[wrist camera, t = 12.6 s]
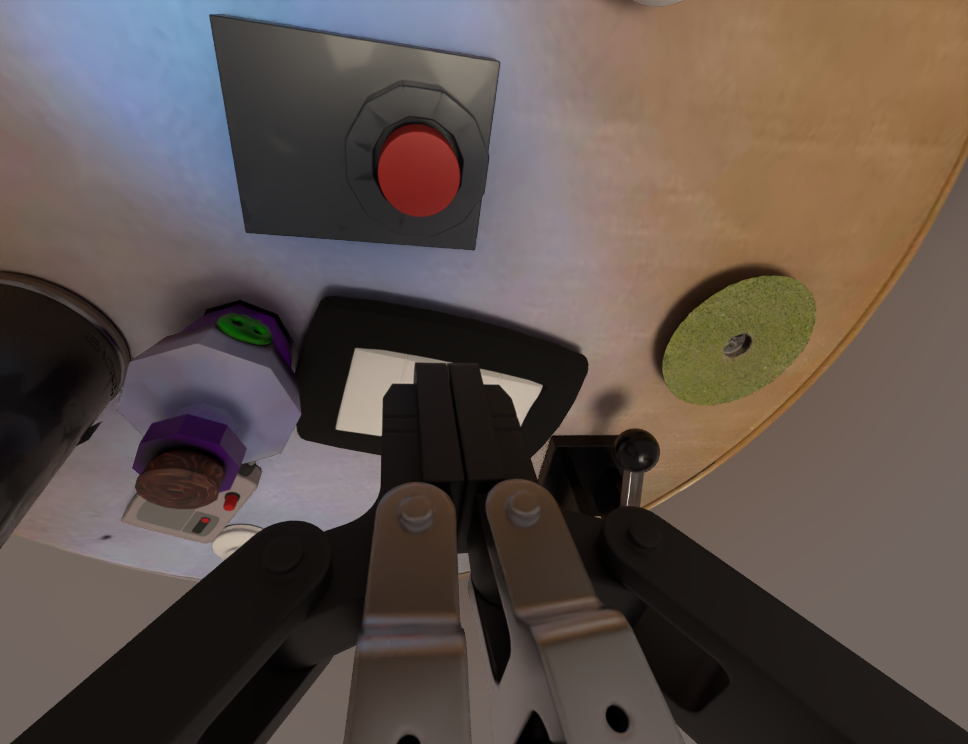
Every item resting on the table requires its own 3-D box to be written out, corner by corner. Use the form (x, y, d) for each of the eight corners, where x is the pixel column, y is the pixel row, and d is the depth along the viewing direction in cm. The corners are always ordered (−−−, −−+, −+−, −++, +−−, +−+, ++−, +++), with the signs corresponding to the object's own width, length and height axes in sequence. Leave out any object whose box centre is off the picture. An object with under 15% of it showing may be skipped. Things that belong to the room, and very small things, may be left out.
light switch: (280, 455, 33) (304, 299, 25) (288, 424, 35) (312, 271, 27) (527, 486, 40) (613, 369, 31) (521, 458, 42) (600, 342, 33)
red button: (378, 201, 22) (377, 213, 21) (379, 118, 20) (377, 126, 19) (452, 208, 23) (455, 220, 22) (460, 128, 21) (464, 137, 20)
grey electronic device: (117, 523, 38) (98, 557, 35) (195, 402, 32) (179, 434, 29) (202, 545, 41) (190, 577, 39) (288, 439, 35) (280, 470, 33)
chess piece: (272, 556, 44) (245, 675, 36) (213, 555, 42) (172, 678, 34) (274, 525, 41) (246, 647, 33) (212, 522, 39) (167, 648, 32)
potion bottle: (315, 283, 28) (274, 421, 18) (320, 393, 33) (290, 545, 24) (152, 270, 26) (14, 416, 17) (184, 389, 31) (93, 552, 22)
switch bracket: (551, 435, 39) (599, 566, 30) (637, 435, 41) (708, 558, 32) (528, 509, 45) (562, 636, 36) (604, 505, 47) (655, 627, 37)
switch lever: (607, 423, 34) (629, 436, 31) (647, 423, 35) (671, 436, 32) (591, 582, 37) (609, 609, 33) (628, 579, 37) (649, 605, 34)
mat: (632, 390, 37) (642, 406, 36) (686, 258, 31) (701, 271, 29) (753, 390, 39) (767, 405, 38) (828, 268, 33) (849, 280, 31)
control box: (253, 221, 25) (236, 247, 22) (221, 14, 20) (193, 14, 17) (471, 239, 28) (479, 264, 25) (494, 58, 22) (508, 65, 20)
